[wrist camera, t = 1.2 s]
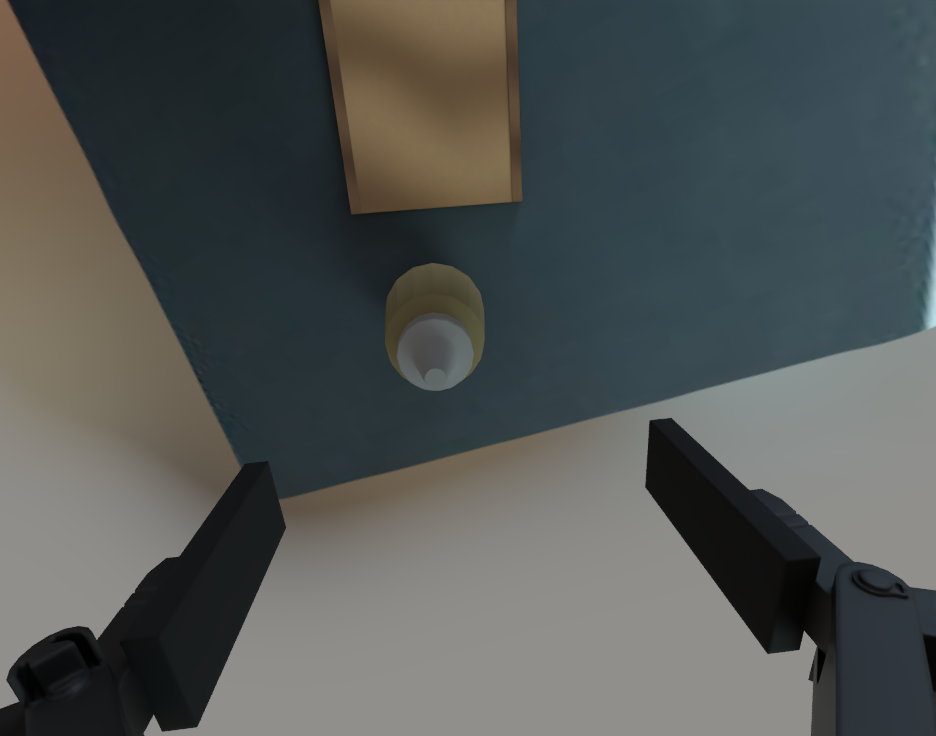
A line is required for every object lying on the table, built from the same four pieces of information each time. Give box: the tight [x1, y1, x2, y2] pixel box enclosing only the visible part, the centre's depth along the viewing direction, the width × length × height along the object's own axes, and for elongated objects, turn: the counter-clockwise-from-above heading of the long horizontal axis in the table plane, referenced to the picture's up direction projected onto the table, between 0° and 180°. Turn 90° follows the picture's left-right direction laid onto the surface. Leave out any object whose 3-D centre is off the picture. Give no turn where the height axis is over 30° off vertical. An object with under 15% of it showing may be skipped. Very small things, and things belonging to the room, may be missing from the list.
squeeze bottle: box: [385, 263, 485, 391], centre depth 33 cm, size 8×8×18 cm
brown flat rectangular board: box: [318, 0, 522, 215], centre depth 34 cm, size 20×14×1 cm
